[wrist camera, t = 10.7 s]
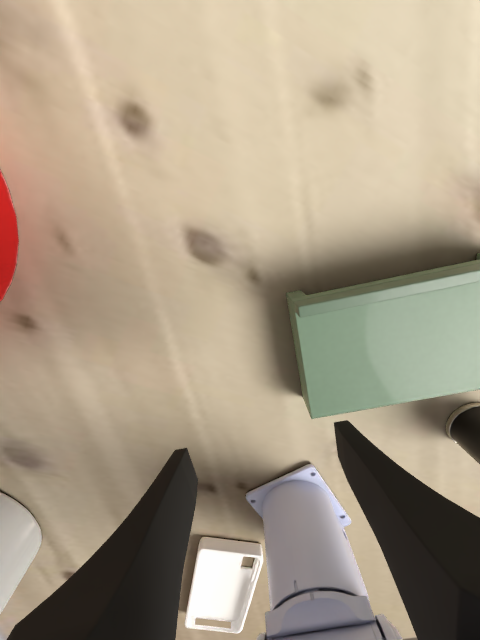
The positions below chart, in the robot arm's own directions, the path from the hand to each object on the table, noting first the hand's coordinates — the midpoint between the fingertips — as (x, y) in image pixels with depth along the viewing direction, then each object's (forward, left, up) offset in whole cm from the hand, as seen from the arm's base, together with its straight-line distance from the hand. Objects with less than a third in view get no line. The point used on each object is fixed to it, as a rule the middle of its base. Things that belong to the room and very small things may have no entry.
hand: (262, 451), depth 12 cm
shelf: (-4, -11, -10) cm, 16 cm away
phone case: (-24, +19, -11) cm, 32 cm away
